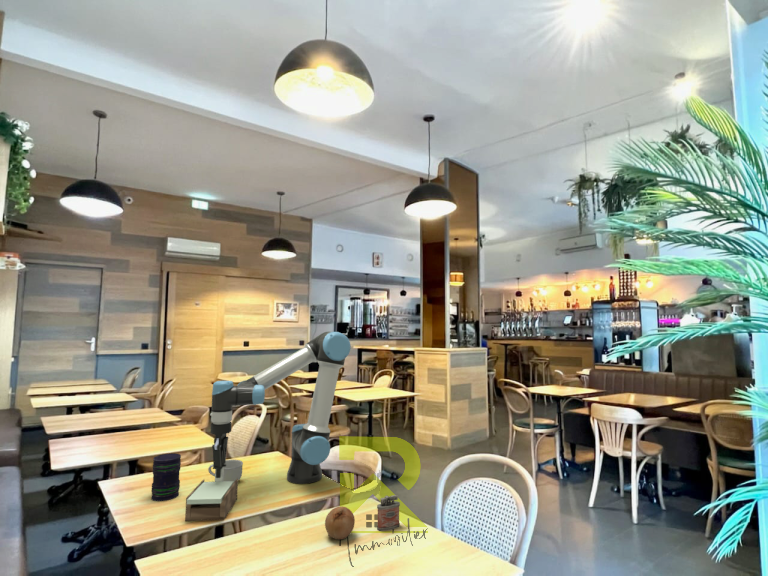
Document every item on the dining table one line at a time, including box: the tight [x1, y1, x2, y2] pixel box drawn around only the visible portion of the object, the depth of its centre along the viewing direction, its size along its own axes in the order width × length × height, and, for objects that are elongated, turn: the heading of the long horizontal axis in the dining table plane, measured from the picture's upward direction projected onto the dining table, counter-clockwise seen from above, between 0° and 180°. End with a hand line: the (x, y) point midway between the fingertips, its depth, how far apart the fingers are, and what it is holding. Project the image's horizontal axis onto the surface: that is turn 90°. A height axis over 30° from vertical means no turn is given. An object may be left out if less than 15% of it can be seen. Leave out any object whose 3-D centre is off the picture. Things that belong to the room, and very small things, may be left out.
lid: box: [187, 481, 234, 504], centre depth 156 cm, size 17×11×2 cm, turn 5°
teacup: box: [207, 459, 244, 482], centre depth 185 cm, size 14×11×8 cm
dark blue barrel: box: [151, 452, 182, 502], centre depth 170 cm, size 10×10×15 cm
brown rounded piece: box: [324, 506, 356, 541], centre depth 138 cm, size 10×9×10 cm
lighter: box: [376, 494, 401, 532], centre depth 145 cm, size 8×3×10 cm, turn 115°
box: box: [184, 479, 239, 522], centre depth 158 cm, size 18×13×8 cm
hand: (218, 485), depth 165 cm, fingers closed
